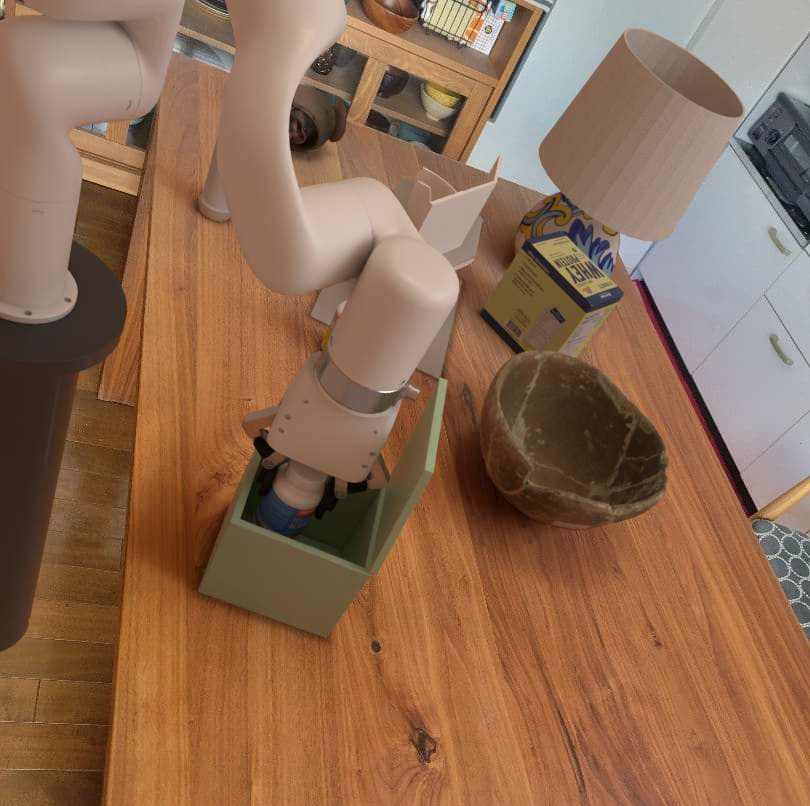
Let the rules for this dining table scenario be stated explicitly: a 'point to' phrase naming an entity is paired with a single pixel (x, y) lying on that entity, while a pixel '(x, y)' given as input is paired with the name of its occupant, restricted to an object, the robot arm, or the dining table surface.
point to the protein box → (551, 297)
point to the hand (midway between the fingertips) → (292, 496)
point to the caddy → (294, 558)
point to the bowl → (569, 443)
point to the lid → (409, 476)
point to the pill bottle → (291, 499)
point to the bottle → (213, 194)
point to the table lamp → (633, 147)
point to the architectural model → (431, 242)
